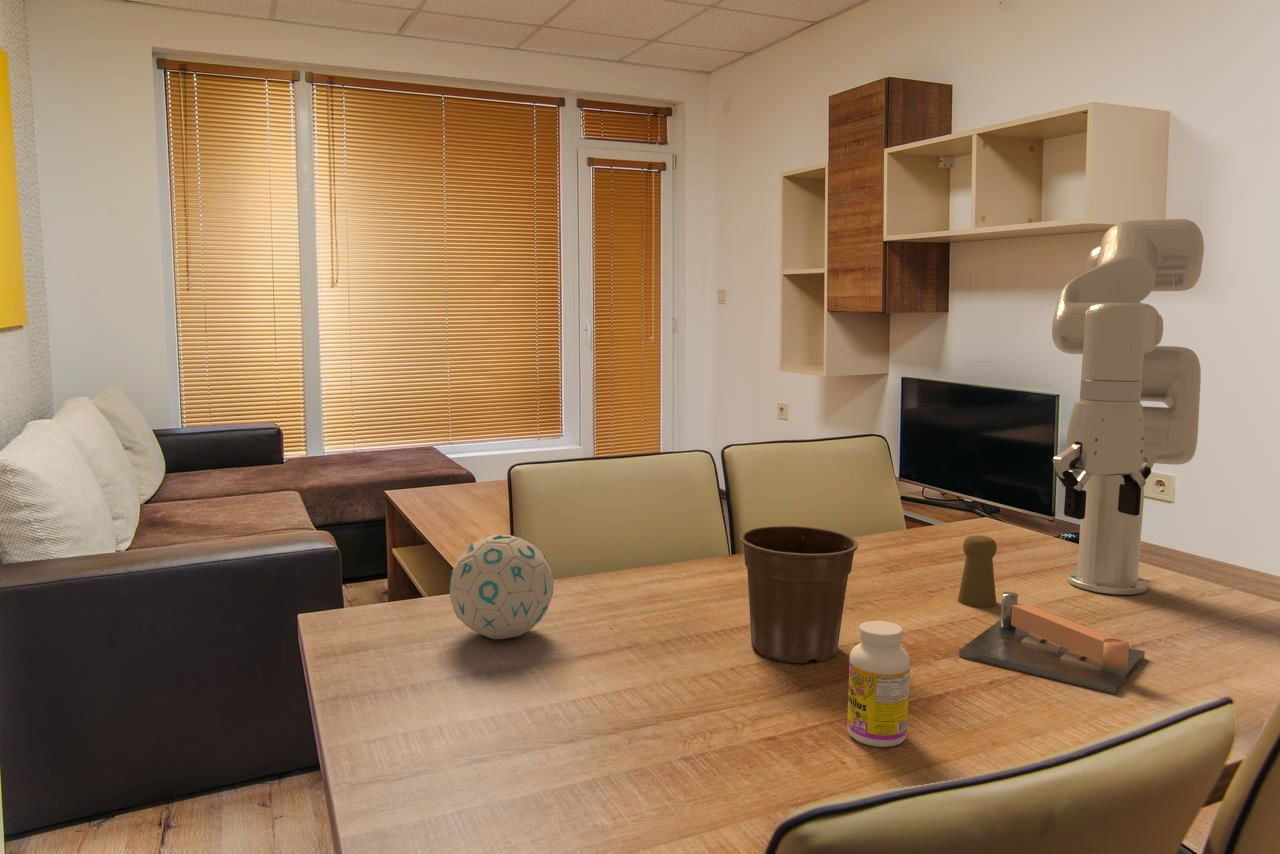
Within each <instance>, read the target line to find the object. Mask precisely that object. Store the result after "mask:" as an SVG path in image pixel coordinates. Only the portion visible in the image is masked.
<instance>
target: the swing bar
mask: <svg viewBox="0 0 1280 854" xmlns="http://www.w3.org/2000/svg"><path fill="white" fill-rule="evenodd" d="M1011 625H1012V626H1014V627H1017V628H1019V629H1021V630H1024V631H1026V632H1028V633H1031V634H1033V635H1036V636H1038V637H1040V638H1043V639H1045V640H1047V641H1050V642H1052V643H1054V644H1057V645H1059V646H1062V647H1064V648H1066V649H1069V650H1071V651H1073V652H1076V653H1078V654H1080V655H1083V656H1085V657H1088V658H1090V659H1092V660H1095V661H1097V662H1099V663H1102V664H1103V665H1105V666H1107V667H1110V668H1114V669H1125V668H1127V667H1128V653H1129V648H1130V643H1129V642H1127V641H1125V640H1124V639H1123V640H1122V639H1119V638H1116V637H1113V636H1110V635H1108V634H1105V633H1104V632H1100V631H1098V630H1095V629H1093V628H1090V627H1087V626H1085V625H1082V624H1080V623H1077V622H1074V621H1072V620H1069V619H1066V618H1064V617H1063V616H1062V617H1061V616H1059V615H1056V614H1054V613H1052V612H1048V611H1046V610H1044V609H1041V608H1038V607H1036V606H1033V605H1030V604H1028V603H1025V602H1023V603H1017V605H1012V615H1011Z"/></svg>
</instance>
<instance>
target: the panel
mask: <svg viewBox="0 0 1280 854" xmlns="http://www.w3.org/2000/svg"><path fill="white" fill-rule="evenodd" d="M1018 599H1019V595H1018V593H1015V592H1012V591H1004V592H1002V593H1001V603H1000V604H1001V606H1000V619H999V620H998V621H996V622H995V623H993V624H991V626H989V628H987V629H986V630H984V631H982V633H981V632H980V634H979V635H977V636H976V637H975V638H973V639H972V640H970V641H969V642H968V643H966V644H965V645H964V646H962V647H961V648H960V649H959V653H958V654H959V658H964V659H968V660H971V661H975V662H981V663H984V664H988V665H992V666H997V667H1001V668H1005V669H1010V670H1013V671H1016V670H1017V671H1018V672H1021V673H1026V674H1029V675H1034V676H1037V675H1038V676H1037V677H1041V676H1042V678H1045V679H1049V678H1050V680H1055V681H1059V682H1062V681H1063V682H1062V683H1066V682H1067V684H1070V683H1071V685H1074V684H1075V686H1078V685H1079V687H1083V688H1087V689H1091V690H1095V691H1100V692H1103V693H1106V694H1107V693H1108V694H1110V695H1111V694H1112V695H1116V694H1117V693H1118V692H1119V691H1120V689H1121V688H1122V686H1123V685H1124V684H1125V683H1126V681H1127V680H1129V678H1130V677H1131V676H1132V674H1133V673H1134V672H1135V671H1136V670H1137V668H1138V667H1139V665H1140V664H1141V663H1142V662H1143V661H1144V659H1145V657H1146V656H1145V653H1146V651H1144V650H1140V649H1136V648H1131V647H1129V653H1128V667H1127V668H1125V669H1114V668H1110V667H1107V666H1105V665H1103V664H1102V663H1099V662H1097V661H1095V660H1092V659H1090V658H1088V657H1085V656H1083V655H1080V654H1078V653H1076V652H1073V651H1071V650H1069V649H1066V648H1064V647H1062V646H1059V645H1057V644H1054V643H1052V642H1050V641H1047V640H1045V639H1043V638H1040V637H1038V636H1036V635H1033V634H1031V633H1028V632H1026V631H1024V630H1021V629H1019V628H1017V627H1014V626H1012V625H1011V615H1012V605H1017V604H1019V603H1018Z"/></svg>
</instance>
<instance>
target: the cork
mask: <svg viewBox="0 0 1280 854" xmlns="http://www.w3.org/2000/svg"><path fill="white" fill-rule="evenodd" d="M962 549H963V553H964V555H965V560H964V566H963V572H962V575H961V576H962V577H961V580H960V581H961V582H960V585H959V586H960V587H959V593H958V596H957V602H959V604H962V605H964V606H967V607H972V608H981V609H982V608H984V609H986V608H993V607H995V606H997V595H996V584H995V582H996V581H995V573H994V571H995V570H994V560H993V558H994V557H995V555H996V554H997V550H998V549H997V542H996V540H995V539H993V538H992V537H991V536H990V537H989V536H986V535H978V534H977V535H969V536H967V537H966V538H964V541H963V545H962Z"/></svg>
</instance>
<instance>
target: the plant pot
mask: <svg viewBox="0 0 1280 854" xmlns="http://www.w3.org/2000/svg"><path fill="white" fill-rule="evenodd" d="M739 539H740V542H741V544H742V545H743V553H744V554H743V555H744V556H743V557H744V564H745V567H746V569H747V585H748V588H747V589H748V603H749V605H748V606H749V619H750V621H749V622H750V623H749V624H750V638H751V641H750V642H751V644H750V645H751V648H752V649H754V650H756V651H757V653H758V654H759V655H761V656H763V657H765V658H768V659H770V660H774V661H778V662H782V663H790V664H791V663H792V664H807V663H808V662H810V661H813V660H814V661H817V662H819V663H820V662H825V661H827V660H828V661H829V659H832V658H833V657H835V656H836V655H837V653H838V649H839V641H840V636H841V635H840V634H841V627H842V619H843V615H844V614H843V612H844V605H845V599H846V592H847V584H848V579H849V575H850V574H851V572H852V566H853V560H854V555H855V552H856V551H857V550H858V548H859V542H858V541H857V539H855V538H854V537H852V536H851V535H849V534H845V533H843V532H839V531H836V530H831V529H826V528H822V527H821V528H820V527H814V526H813V527H811V526H803V525H802V526H801V525H773V526H762V527H754V528H751V529H748V530H746V531H744V532H742V533H741V535H740V536H739Z"/></svg>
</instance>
